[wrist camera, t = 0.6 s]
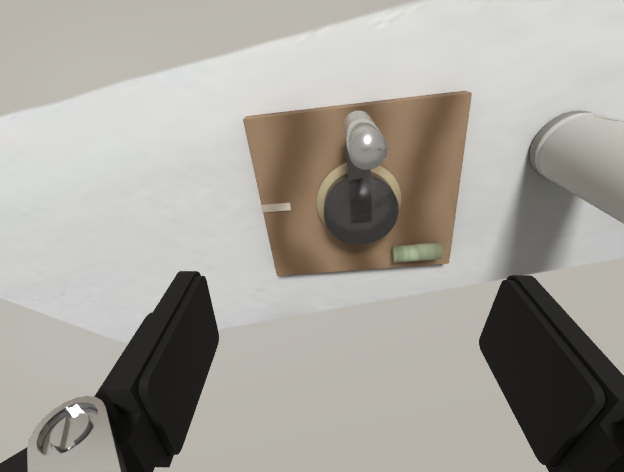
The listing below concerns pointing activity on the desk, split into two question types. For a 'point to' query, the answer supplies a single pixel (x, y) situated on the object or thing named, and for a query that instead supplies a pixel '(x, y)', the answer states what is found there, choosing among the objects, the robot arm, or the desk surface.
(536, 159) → the travel mug
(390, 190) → the grey rounded piece
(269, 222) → the base
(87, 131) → the desk surface
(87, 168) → the desk surface
